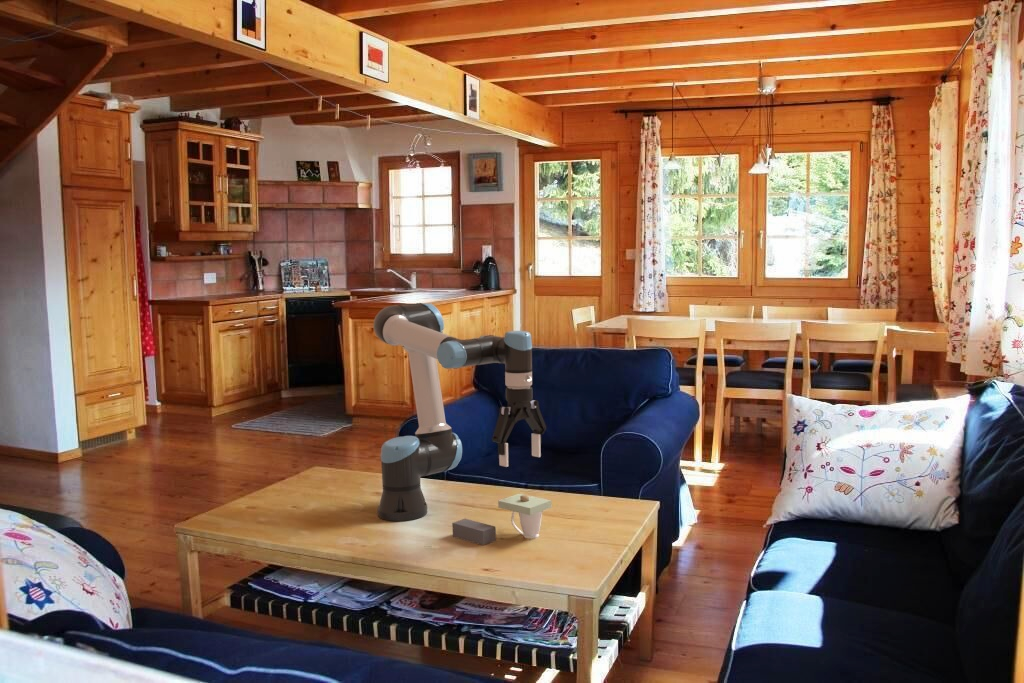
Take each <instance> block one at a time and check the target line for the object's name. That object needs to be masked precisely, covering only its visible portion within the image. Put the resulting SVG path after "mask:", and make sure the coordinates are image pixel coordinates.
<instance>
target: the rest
mask: <svg viewBox="0 0 1024 683" xmlns="http://www.w3.org/2000/svg"><path fill="white" fill-rule="evenodd" d="M496 535H497V534H496V526H495V525H491V524H487V523H484V522H479V521H475V520H471V519H468V518H463V519H460V520H457V521H453V522H452V537H453V538H457V539H460V540H463V541H466V542H471V543H473V544H477V545H480V546H486V545H488V544H491V543H493V542H496V541H497V536H496Z"/></svg>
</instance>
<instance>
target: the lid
mask: <svg viewBox="0 0 1024 683" xmlns="http://www.w3.org/2000/svg"><path fill="white" fill-rule="evenodd" d="M497 506H498V508H499V509H503V510H507V511H510V512H513V511H515V513H518V514H519V513H523V514H527V515H533V514H535V513H538V512H541V511H542V512H543V511H546V510H548V509H551V508H552V500H550V499H546V498H543V497H537V496H534V495H533V496H532V495H530V494H529V495H528V494H524V493H517V494H516V493H515V494H514V495H511V496H508V497H505V498H501V499H499V500H497Z"/></svg>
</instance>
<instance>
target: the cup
mask: <svg viewBox="0 0 1024 683" xmlns="http://www.w3.org/2000/svg"><path fill="white" fill-rule="evenodd" d="M515 513H516V512H515V511H512V513H511V517H510V518H511V520H510V521H511V525H512V526H513V528H514V529H515V530H516V532H518V533H519V534H520V535H522V536H523V538H525V539H527V540H528V539H530V540H531V539H532V540H533V539H538V538H539V537H540V534H539V533H540V530H541V524H542V517H543V511H541V512H538V513H535V514H533V515H527V514H523V513H519V512H518V516H519V520H520V526H521V529H520V528H519V527H518V526H517V525H516V523H515V521H514V520H515Z"/></svg>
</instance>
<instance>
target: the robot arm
mask: <svg viewBox="0 0 1024 683" xmlns="http://www.w3.org/2000/svg"><path fill="white" fill-rule="evenodd" d="M444 329H445V322H444V319H443V315H442V313H441V312H440V310H439V309H438V308H437V307H436V306H435V305H434V304H432V303H426V302H419V303H418V302H417V303H409V304H394V305H388V306H385V307H384V308H382V309H381V310H380V311H378V313H377V314H376V315H375V317H374V320H373V331H374V334H375V336H376V337H377V338H378V340H380V341H381V342H383V343H385V344H388V345H390V346H402V349H403V350H404V351H406V352H407V353H408V360H409V367H410V373H411V379H412V380H411V382H412V387H413V394H414V402H415V408H416V415H417V422H418V428H417V429H416V431H415V432H414V434H415V435H404V436H396V437H393V438H390V439H388V440H387V441H385V442H383V444H382V445H381V448H380V461H381V462H380V463H381V480H382V491H381V492H382V493H381V497H380V500H379V505H378V507H377V516H378V517H379V518H380V519H382V520H384V521H389V522H390V521H391V522H401V521H402V522H406V521H412V520H417V519H420V518H422V517H423V518H424V516H426V515H427V514H428V504H427V502H426V499H425V496H424V493H423V491H422V486H421V477H425V476H430V475H434V474H438V473H445V472H447V471H449V470H453V469H455V468H456V467H457V466H458V464H459V463H460V461H461V460H462V456H463V444H462V441H461V439H460V437H459V436H458V434H456V433H455V432H453V431H452V430H453V429H452V427H451V426H450V425H449V424H448V423H447V422H446V416H445V414H446V413H445V407H444V402H443V395H442V388H441V381H440V375H439V367H438V366H439V365H438V363H439V364H440V365H441V367H442V368H444V369H454V370H455V369H460V368H467V367H472V366H481V365H488V364H494V363H495V364H497V363H498V364H503V365H504V366H505V368H504V371H505V372H504V376H505V377H504V380H505V386H506V388H505V400H506V401H507V406H500V407H499V413H498V417H497V421H496V424H495V428H494V430H493V435H492V437H491V442H495V443H497V454H498V459H499V460H498V462H499V466H501V467H505V468H507V467H509V443H508V442H507V441H508V439H509V437H510V434H511V432H512V431H513V428H514V426H515V424H516V423H518V421H522V420H525V421H526V423H527V424H528V427H529V428H530V429H531V431H532V432H533V433H531V456H532V457H535V458H541V456H542V453H541V445H542V435H544V434H545V431H547V425H546V422H545V420H544V418H543V415H542V411H541V409H540V403H539V401H538V400H534V399H533V392H534V391H533V387H532V385H533V343H532V342H533V341H532V334H531V332H529V331H527V330H511V331H506V332H505V333H504V336H495V335H494V334H493V335H491V334H490V335H487V334H486V335H484V334H483V335H482V336H479V337H476V338H466V339H460V338H457V337H454V336H452V335H448V334H446V333H444V331H443V330H444Z"/></svg>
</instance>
